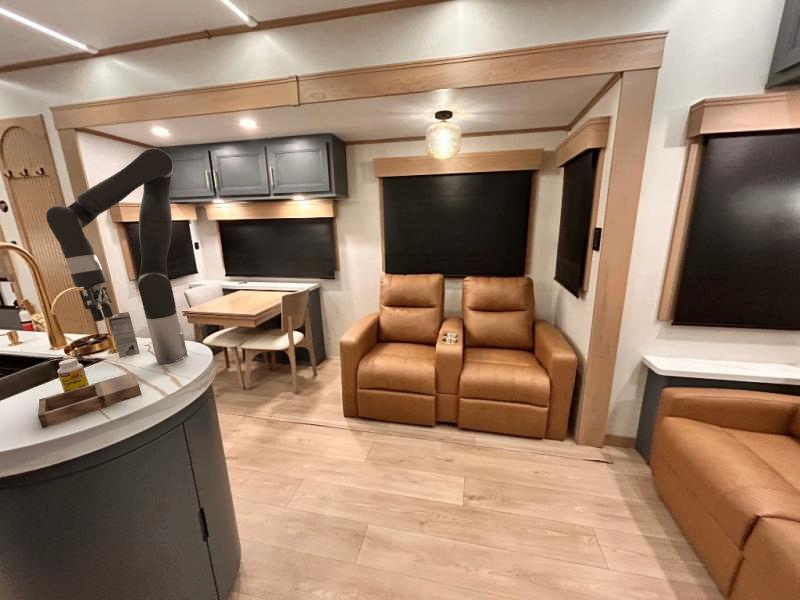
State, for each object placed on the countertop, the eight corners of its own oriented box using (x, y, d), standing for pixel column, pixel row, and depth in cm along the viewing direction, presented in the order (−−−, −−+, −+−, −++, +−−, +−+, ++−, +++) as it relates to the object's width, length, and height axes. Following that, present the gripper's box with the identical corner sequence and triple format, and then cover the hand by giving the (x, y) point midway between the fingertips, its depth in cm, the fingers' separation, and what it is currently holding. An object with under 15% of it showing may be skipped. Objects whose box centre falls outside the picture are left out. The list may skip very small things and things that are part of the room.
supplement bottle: (62, 397, 95) (51, 366, 92) (68, 390, 100) (58, 360, 97) (87, 391, 98) (77, 361, 95) (91, 384, 102) (82, 355, 100)
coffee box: (118, 352, 129) (107, 314, 125) (138, 347, 133) (128, 311, 129) (119, 358, 123) (108, 319, 119) (140, 353, 127) (130, 315, 123)
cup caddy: (134, 382, 103) (132, 372, 102) (141, 395, 94) (139, 384, 94) (43, 410, 88) (39, 399, 88) (42, 428, 80) (37, 416, 79)
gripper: (92, 268, 96) (111, 319, 100) (109, 268, 109) (125, 313, 112) (59, 274, 93) (80, 325, 96) (81, 273, 106) (98, 318, 109)
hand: (104, 318), depth 104 cm, fingers open, 8 cm apart
